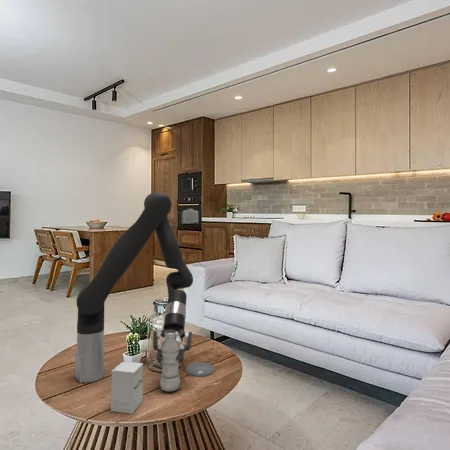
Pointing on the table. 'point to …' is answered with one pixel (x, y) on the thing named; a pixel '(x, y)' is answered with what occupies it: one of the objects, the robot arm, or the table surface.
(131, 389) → the supplement box
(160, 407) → the table surface
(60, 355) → the table surface
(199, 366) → the coaster
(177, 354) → the plastic bottle
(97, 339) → the robot arm
